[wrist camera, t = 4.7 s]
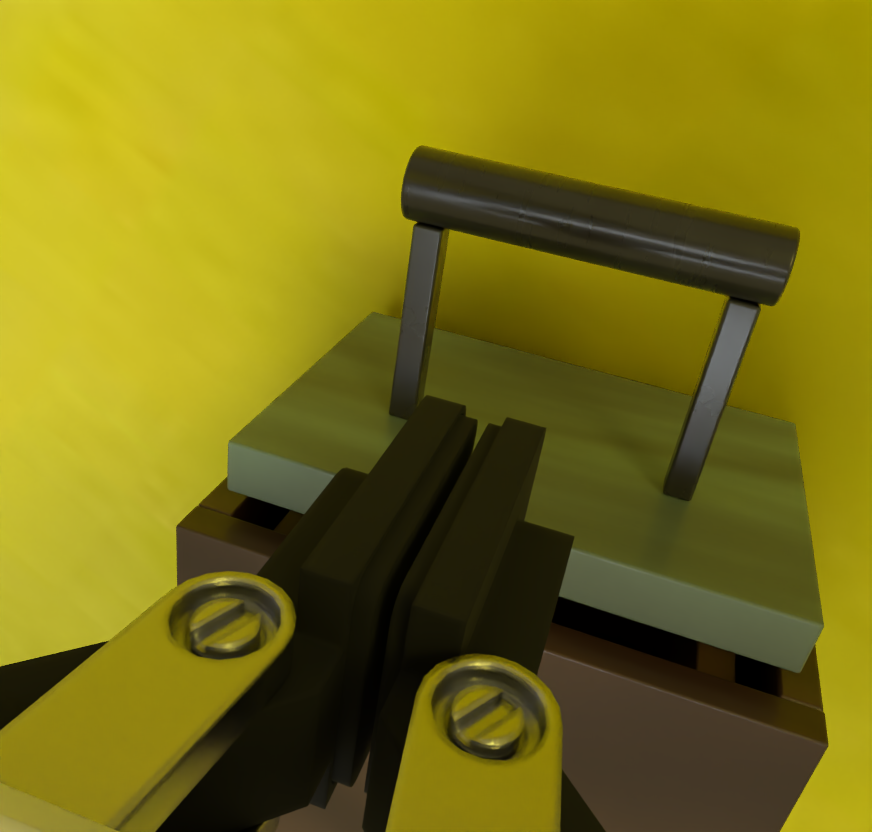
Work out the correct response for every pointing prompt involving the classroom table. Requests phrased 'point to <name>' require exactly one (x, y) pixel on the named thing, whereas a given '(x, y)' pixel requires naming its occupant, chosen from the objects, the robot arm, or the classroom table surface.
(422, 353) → the drawer
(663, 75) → the classroom table surface
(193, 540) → the cabinet
